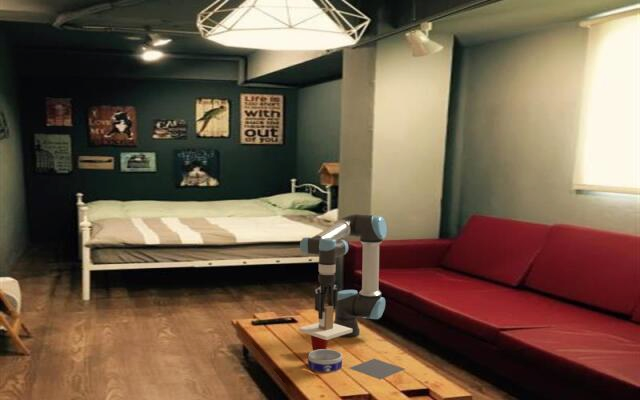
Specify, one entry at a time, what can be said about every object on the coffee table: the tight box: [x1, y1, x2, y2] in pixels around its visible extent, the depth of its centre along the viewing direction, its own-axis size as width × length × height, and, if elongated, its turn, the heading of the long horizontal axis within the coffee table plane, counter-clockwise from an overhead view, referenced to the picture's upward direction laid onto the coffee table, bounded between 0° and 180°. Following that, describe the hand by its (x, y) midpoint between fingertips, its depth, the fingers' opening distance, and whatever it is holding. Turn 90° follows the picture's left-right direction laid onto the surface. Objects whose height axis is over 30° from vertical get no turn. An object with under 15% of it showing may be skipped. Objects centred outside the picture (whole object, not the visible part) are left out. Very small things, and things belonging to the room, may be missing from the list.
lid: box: [298, 304, 353, 341], centre depth 258 cm, size 17×17×12 cm
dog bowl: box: [307, 348, 343, 373], centre depth 260 cm, size 15×15×6 cm
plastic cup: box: [310, 335, 329, 351], centre depth 277 cm, size 11×11×12 cm
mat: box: [349, 358, 406, 380], centre depth 258 cm, size 18×18×1 cm
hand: (325, 324), depth 258 cm, fingers closed on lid, 4 cm apart
